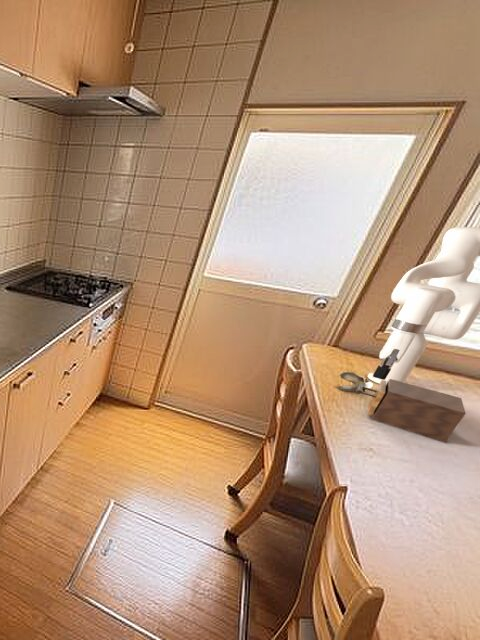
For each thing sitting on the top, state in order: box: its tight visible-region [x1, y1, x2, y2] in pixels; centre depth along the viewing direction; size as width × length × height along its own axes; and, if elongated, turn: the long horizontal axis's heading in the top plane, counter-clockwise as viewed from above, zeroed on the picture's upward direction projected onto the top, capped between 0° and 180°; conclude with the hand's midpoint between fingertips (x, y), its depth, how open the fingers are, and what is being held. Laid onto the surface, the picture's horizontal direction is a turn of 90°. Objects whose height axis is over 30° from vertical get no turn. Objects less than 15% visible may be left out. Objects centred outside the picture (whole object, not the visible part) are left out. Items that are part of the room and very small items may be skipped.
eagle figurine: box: [337, 371, 374, 393], centre depth 161 cm, size 8×7×9 cm
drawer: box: [355, 380, 388, 416], centre depth 142 cm, size 22×14×9 cm, turn 46°
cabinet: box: [371, 379, 467, 443], centre depth 139 cm, size 18×15×11 cm
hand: (378, 377), depth 143 cm, fingers closed
